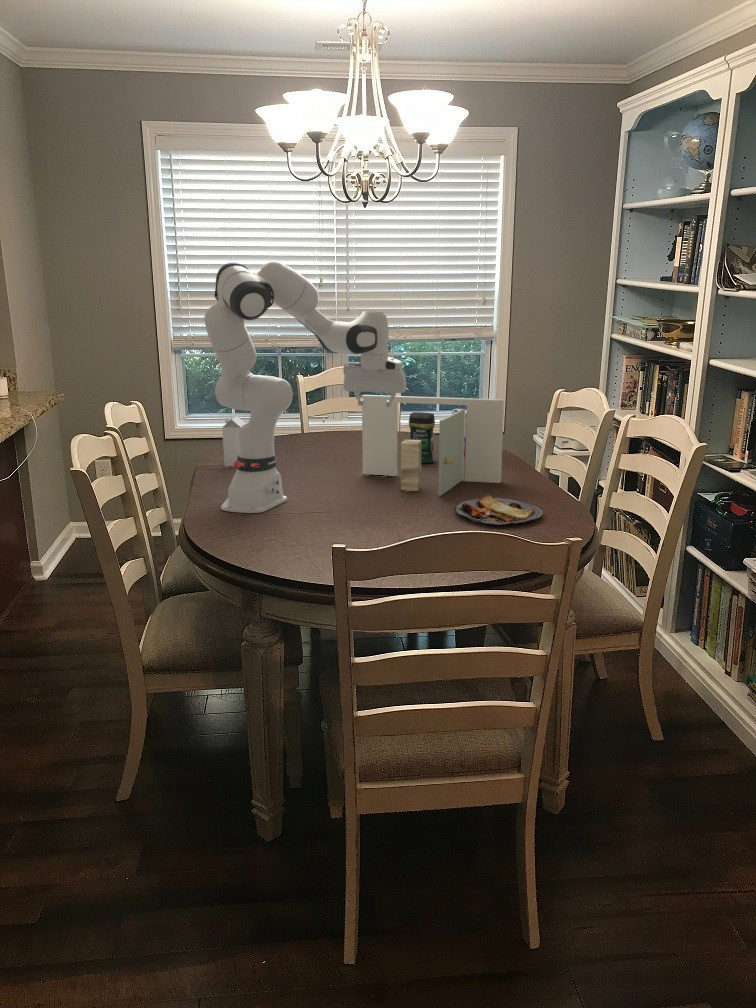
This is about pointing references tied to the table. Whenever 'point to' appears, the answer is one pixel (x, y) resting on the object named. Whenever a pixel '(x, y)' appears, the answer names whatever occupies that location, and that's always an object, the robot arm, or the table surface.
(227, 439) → the milk carton
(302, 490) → the table surface
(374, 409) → the door frame
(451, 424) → the door
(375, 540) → the table surface
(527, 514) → the food plate
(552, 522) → the table surface
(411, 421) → the coffee jar
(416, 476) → the doorstop block
